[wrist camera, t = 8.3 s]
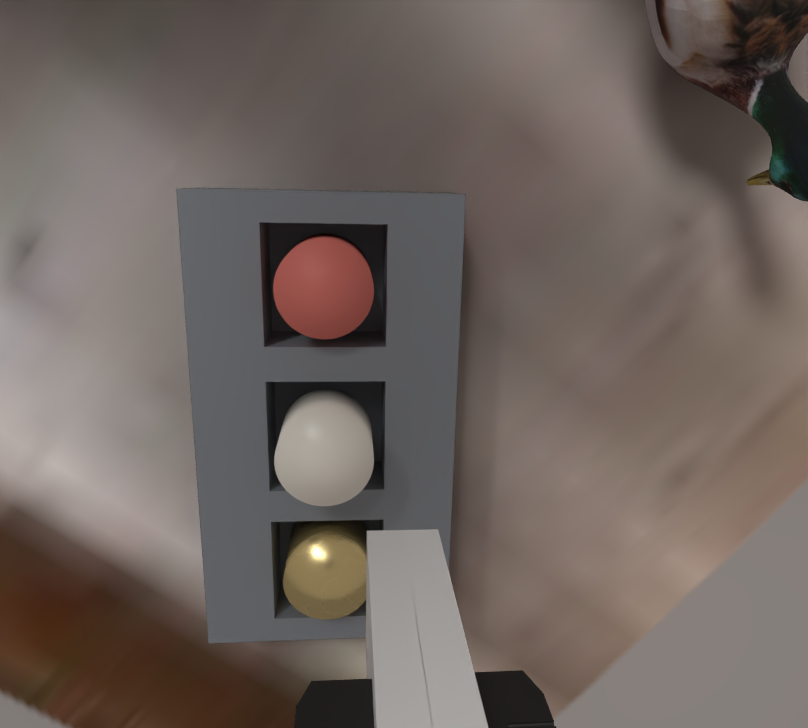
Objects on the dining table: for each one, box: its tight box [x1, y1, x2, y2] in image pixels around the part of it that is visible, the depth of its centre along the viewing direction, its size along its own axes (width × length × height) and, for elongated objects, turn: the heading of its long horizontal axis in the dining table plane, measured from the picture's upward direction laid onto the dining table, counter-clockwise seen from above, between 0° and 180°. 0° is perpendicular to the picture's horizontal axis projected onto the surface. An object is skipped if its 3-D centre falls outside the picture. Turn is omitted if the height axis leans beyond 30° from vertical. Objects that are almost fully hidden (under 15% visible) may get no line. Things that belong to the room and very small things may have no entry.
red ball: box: [273, 233, 374, 339], centre depth 29 cm, size 4×4×4 cm
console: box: [176, 188, 466, 643], centre depth 32 cm, size 12×22×4 cm, turn 179°
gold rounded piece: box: [283, 520, 367, 620], centre depth 33 cm, size 4×4×4 cm
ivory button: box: [274, 389, 374, 506], centre depth 29 cm, size 4×4×4 cm
